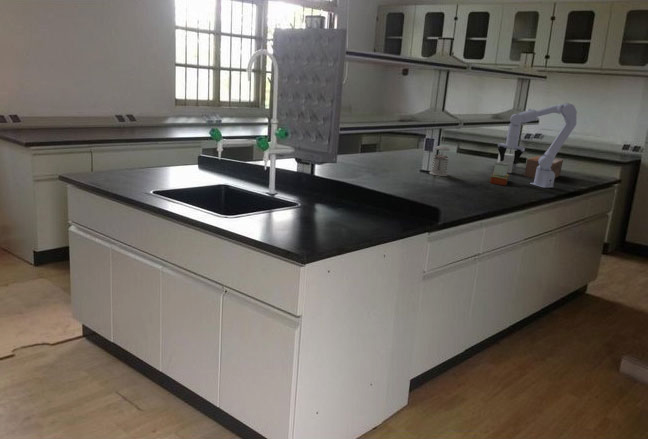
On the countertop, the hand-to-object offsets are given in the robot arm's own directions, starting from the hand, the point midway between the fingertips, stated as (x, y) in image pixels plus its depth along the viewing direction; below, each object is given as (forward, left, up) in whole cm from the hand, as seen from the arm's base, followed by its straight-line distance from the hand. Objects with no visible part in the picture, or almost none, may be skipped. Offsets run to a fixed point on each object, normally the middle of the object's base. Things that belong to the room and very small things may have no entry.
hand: (508, 162), depth 307 cm
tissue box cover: (+9, -40, -10) cm, 42 cm away
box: (-2, +7, -6) cm, 10 cm away
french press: (+17, +32, -10) cm, 38 cm away
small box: (+21, -21, -10) cm, 31 cm away
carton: (-3, +7, -11) cm, 13 cm away
